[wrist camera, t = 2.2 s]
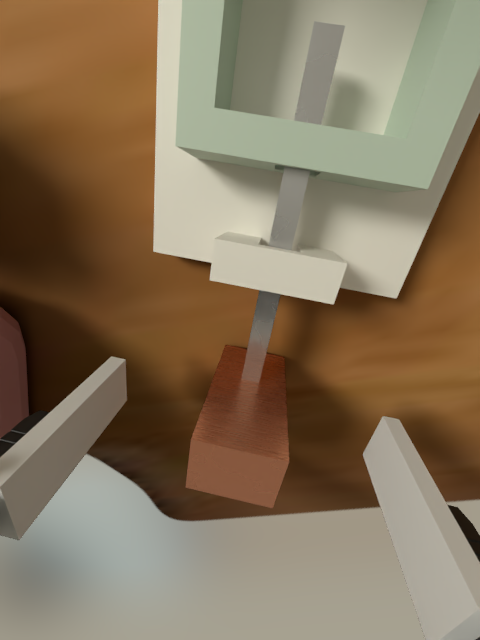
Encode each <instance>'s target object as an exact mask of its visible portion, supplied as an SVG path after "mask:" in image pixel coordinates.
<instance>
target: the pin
mask: <svg viewBox="0 0 480 640" xmlns="http://www.w3.org/2000/svg"><path fill="white" fill-rule="evenodd" d="M344 29H345V26H344V25H337V24H330V23H323V22H316V21H314V25H313V30H312V35H311V40H310V45H309V50H308V54H307V59H306V64H305V69H304V74H303V79H302V84H301V89H300V94H299V99H298V104H297V108H296V113H295V118H294V121H300V122H306V123H312V124H318V125H321V124H322V120H323V116H324V112H325V108H326V104H327V99H328V95H329V91H330V87H331V83H332V79H333V75H334V70H335V66H336V62H337V58H338V54H339V50H340V46H341V42H342V37H343V33H344ZM309 174H310V170H304V169H298V168H293V167H287V166H285V167H284V172H283V177H282V182H281V187H280V192H279V197H278V202H277V207H276V212H275V216H274V221H273V226H272V231H271V236H270V241H269V246H270V247H276V248H281V249H286V250H291V249H292V244H293V240H294V236H295V232H296V228H297V224H298V220H299V215H300V211H301V207H302V203H303V199H304V195H305V191H306V186H307V182H308V178H309ZM279 298H280V294H277V293H272V292H267V291H262V290H259V295H258V300H257V305H256V310H255V315H254V320H253V324H252V329H251V334H250V339H249V344H248V349H244V348H239V347H234V346H230V345H225V348H224V350H223V353H222V356H221V359H220V361H219V364H218V367H217V370H216V372H215V375H214V378H213V380H212V383H211V386H210V389H209V391H208V394H207V397H206V400H205V402H204V405H203V408H202V411H201V413H200V416H199V419H198V422H197V424H196V427H195V430H194V433H193V435H192V438H191V443H190V452H189V461H188V469H187V478H186V487H185V488H189V489H193V490H198V491H202V492H206V493H210V494H214V495H218V496H223V497H227V498H231V499H235V500H239V501H244V502H248V503H252V504H256V505H260V506H264V507H269V508H273V506H274V503H275V500H276V498H277V495H278V492H279V489H280V486H281V484H282V481H283V478H284V475H285V473H286V470H287V467H288V464H289V444H288V424H287V403H286V382H285V362H284V357H282V356H277V355H273V354H268V353H266V352H267V348H268V344H269V340H270V335H271V331H272V327H273V323H274V319H275V315H276V311H277V306H278V302H279Z"/></svg>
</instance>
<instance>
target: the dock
mask: <svg viewBox="0 0 480 640" xmlns="http://www.w3.org/2000/svg"><path fill="white" fill-rule="evenodd" d="M314 21H316V22H323V23H330V24H337V25H344V26H345V29H344V33H343V37H342V42H341V46H340V50H339V54H338V58H337V62H336V66H335V70H334V75H333V79H332V83H331V87H330V91H329V95H328V99H327V104H326V108H325V112H324V116H323V120H322V124H321V125H318V124H312V123H306V122H300V121H294V118H295V113H296V108H297V104H298V99H299V94H300V89H301V84H302V79H303V74H304V69H305V64H306V59H307V54H308V50H309V45H310V40H311V35H312V30H313V25H314ZM479 113H480V0H158V48H157V98H156V148H155V198H154V248H153V252H158V253H163V254H168V255H173V256H179V257H184V258H189V259H194V260H199V261H204V262H210V263H212V264H211V272H210V280H211V281H216V282H221V283H226V284H232V285H237V286H242V287H247V288H252V289H257V290H262V291H267V292H272V293H277V294H282V295H287V296H293V297H298V298H303V299H308V300H313V301H318V302H323V303H328V304H333V305H334V302H335V299H336V296H337V294H338V291H339V288H344V289H349V290H354V291H360V292H365V293H370V294H375V295H380V296H385V297H391V298H396V299H397V297H398V294H399V292H400V290H401V288H402V285H403V283H404V281H405V279H406V276H407V274H408V272H409V270H410V267H411V265H412V263H413V261H414V258H415V256H416V254H417V252H418V249H419V247H420V245H421V243H422V240H423V238H424V236H425V234H426V232H427V229H428V227H429V225H430V223H431V220H432V218H433V216H434V214H435V211H436V209H437V207H438V205H439V202H440V200H441V198H442V196H443V193H444V191H445V189H446V187H447V184H448V182H449V180H450V178H451V175H452V173H453V171H454V169H455V167H456V164H457V162H458V160H459V158H460V155H461V153H462V151H463V149H464V146H465V144H466V142H467V140H468V137H469V135H470V133H471V131H472V128H473V126H474V124H475V122H476V119H477V117H478V115H479ZM285 166H287V167H293V168H298V169H304V170H310V174H309V178H308V182H307V186H306V191H305V195H304V199H303V203H302V207H301V211H300V215H299V220H298V224H297V228H296V232H295V236H294V240H293V244H292V249H291V250H286V249H281V248H276V247H270V246H269V241H270V236H271V231H272V226H273V221H274V216H275V212H276V207H277V202H278V197H279V192H280V187H281V182H282V177H283V172H284V167H285Z"/></svg>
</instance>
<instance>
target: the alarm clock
mask: <svg viewBox="0 0 480 640" xmlns="http://www.w3.org/2000/svg"><path fill="white" fill-rule="evenodd" d="M28 416H29V406H28V386H27V367H26V350H25V343H24V340H23V336H22V333H21V330H20V327H19V323H18V322H17V321H16V320H15V319H14V318H13V317H12V316H10V315H9V314H8V313H7V312H6V311H5V310H3V309H2V308H1V307H0V438H2V437H3V436H4V435H5V434H6V433H8V432H10V431H11V429H12V428H14V427H15V426H16V425H17V424H18V423H19V422H21V421H22V420H23V419H24V418H26V417H28Z"/></svg>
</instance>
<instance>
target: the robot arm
mask: <svg viewBox="0 0 480 640" xmlns="http://www.w3.org/2000/svg"><path fill="white" fill-rule="evenodd" d="M126 401H127V388H126V359H121V358H117V357H112V356H111V357H110V358H109V359H108V360H107V361H106V362H105V363H104V364H102V365H101V366H100V367H99V368H98V369H97V370H96V371H95V372H94V373H93V374H91V375H90V376H89V377H88V378H87V379H86V380H85V381H84V382H83V383H82V384H81V385H79V386H78V387H77V388H76V389H75V390H74V391H73V392H72V393H71V394H70V395H68V396H67V397H66V398H65V399H64V400H63V401H62V402H61V403H60V404H59V405H57V406H56V407H55V408H54V409H53V410H52V411H51V412H45V411H41V410H40V411H38V412H36V413H34V414H32V415H30V416H28V417H26V418H24V419H23V420H22V421H21V422H19V423H18V424H17V425H16V426H15V427H14V428H12V429H11V431H10V432H8V433H6V434H5V435H4V436H3V437H2V438H0V535H1V536H5V537H9V538H13V539H17V540H20V538H21V537H22V536H23V534H24V533H25V532H26V531H27V529H28V528H29V527H30V525H31V524H32V523H33V522H34V520H35V519H36V518H37V516H38V515H39V514H40V512H41V511H42V510H43V509H44V507H45V506H46V505H47V503H48V502H49V501H50V500H51V498H52V497H53V496H54V494H55V493H56V492H57V490H58V489H59V488H60V487H61V485H62V484H63V483H64V481H65V480H66V479H67V478H68V476H69V475H70V474H71V472H72V471H73V470H74V468H75V467H76V466H77V465H78V463H79V462H80V461H81V459H82V458H83V457H84V455H85V454H86V453H87V452H88V450H89V449H90V448H91V446H92V445H93V444H94V443H95V441H96V440H97V439H98V437H99V436H100V435H101V433H102V432H103V431H104V430H105V428H106V427H107V426H108V424H109V423H110V422H111V421H112V419H113V418H114V417H115V415H116V414H117V413H118V411H119V410H120V409H121V408H122V406H123V405H124V404H125V402H126ZM363 457H364V460H365V463H366V466H367V469H368V472H369V475H370V478H371V481H372V484H373V486H374V489H375V492H376V495H377V498H378V501H379V504H380V507H381V510H382V513H383V516H384V519H385V522H386V525H387V528H388V531H389V533H390V536H391V540H392V542H393V545H394V548H395V551H396V554H397V557H398V560H399V563H400V566H401V569H402V572H403V575H404V578H405V581H406V584H407V586H408V590H409V593H410V596H411V598H412V601H413V604H414V607H415V610H416V613H417V616H418V619H419V622H420V625H421V628H422V631H423V634H424V637H425V640H480V535H479V534H478V532H477V531H476V529H475V527H474V526H473V524H472V523H471V522H470V521H469V520H468V519H467V517H466V516H465V515H464V514H463V513H462V512H461V511H460V510H459V508H458V507H454V506H449V505H447V504H446V502H445V500H444V498H443V497H442V495H441V493H440V491H439V489H438V488H437V486H436V484H435V482H434V481H433V479H432V477H431V475H430V473H429V472H428V470H427V468H426V466H425V465H424V463H423V461H422V459H421V458H420V456H419V454H418V452H417V450H416V449H415V447H414V445H413V443H412V442H411V440H410V438H409V436H408V434H407V433H406V431H405V429H404V427H403V426H402V424H401V422H400V420H399V419H395V418H390V417H386V416H383V417H382V419H381V421H380V423H379V424H378V426H377V428H376V430H375V432H374V434H373V436H372V438H371V439H370V441H369V443H368V445H367V447H366V449H365V451H364V453H363Z"/></svg>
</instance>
